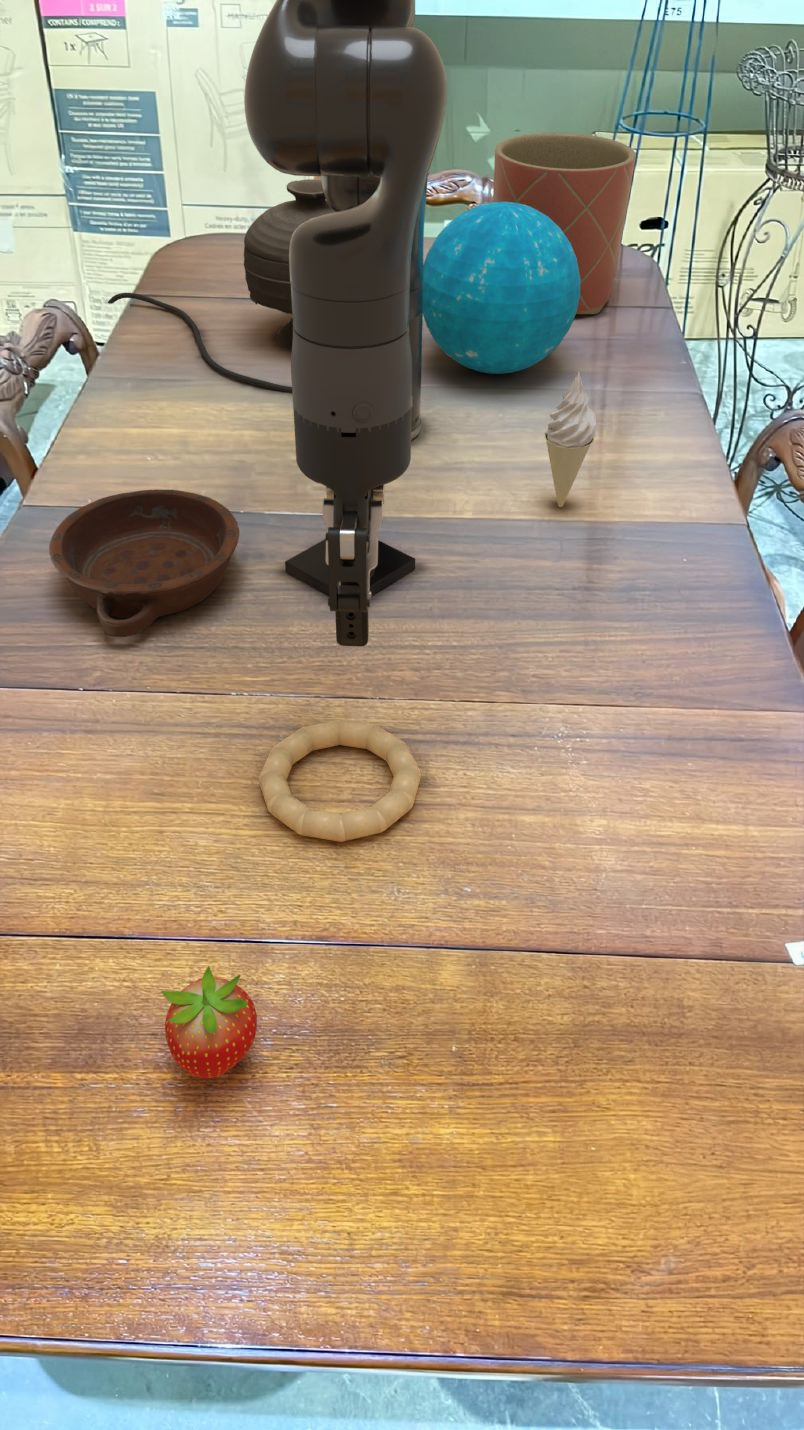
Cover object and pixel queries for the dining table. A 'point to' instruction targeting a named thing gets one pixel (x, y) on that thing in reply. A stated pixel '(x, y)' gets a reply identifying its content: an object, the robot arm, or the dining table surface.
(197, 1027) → the fruit
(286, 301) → the pot
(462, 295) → the decorative sphere
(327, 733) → the ring
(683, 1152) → the dining table surface
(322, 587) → the post
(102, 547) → the dish
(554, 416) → the ice cream cone
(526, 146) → the planter
